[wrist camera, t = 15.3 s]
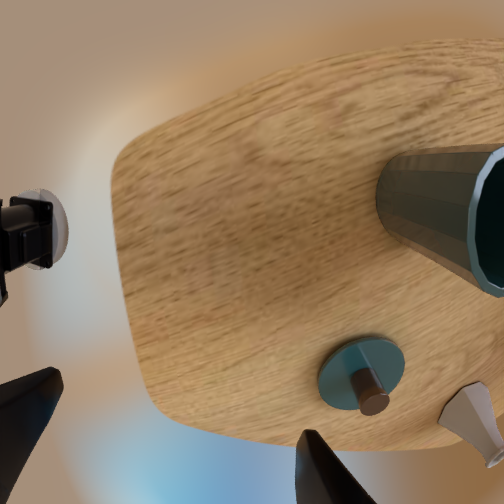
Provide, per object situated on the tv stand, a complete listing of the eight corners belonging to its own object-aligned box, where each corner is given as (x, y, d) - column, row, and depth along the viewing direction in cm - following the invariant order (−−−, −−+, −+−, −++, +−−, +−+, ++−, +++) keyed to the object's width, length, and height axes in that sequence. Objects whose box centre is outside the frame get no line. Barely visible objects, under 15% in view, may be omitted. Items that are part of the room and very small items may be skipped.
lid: (301, 393, 24) (307, 431, 19) (343, 322, 22) (360, 354, 17) (371, 407, 24) (384, 440, 20) (415, 344, 22) (438, 373, 18)
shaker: (375, 247, 20) (457, 308, 10) (373, 149, 18) (465, 134, 8) (449, 241, 20) (541, 286, 10) (450, 153, 18) (550, 154, 8)
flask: (460, 379, 23) (505, 437, 14) (494, 380, 24) (534, 428, 14) (427, 426, 25) (458, 486, 16) (463, 423, 26) (494, 473, 16)
